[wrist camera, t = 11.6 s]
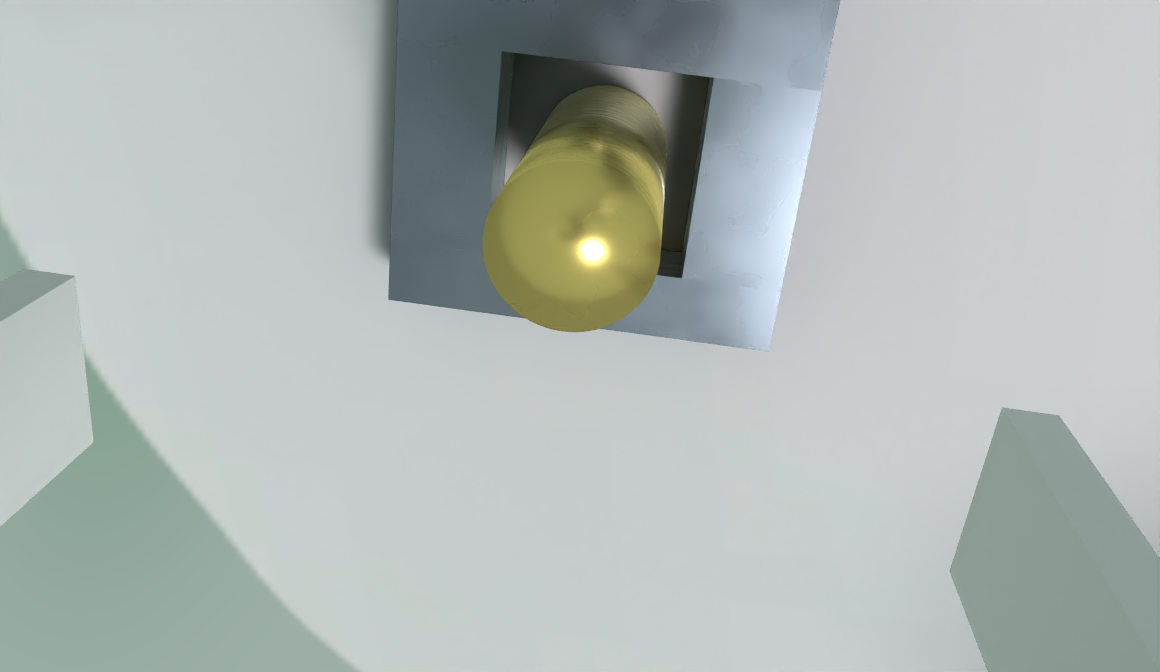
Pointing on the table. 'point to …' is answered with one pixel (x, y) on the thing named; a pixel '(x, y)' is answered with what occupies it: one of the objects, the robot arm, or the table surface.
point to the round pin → (582, 213)
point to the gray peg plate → (632, 39)
